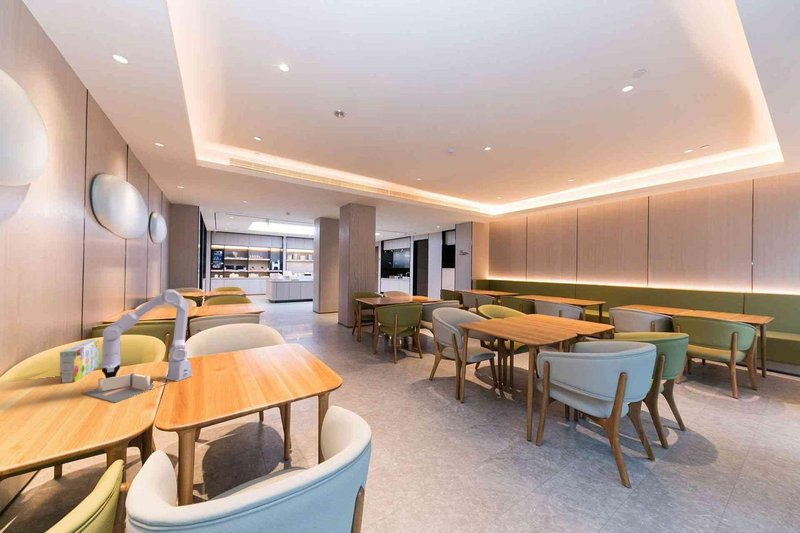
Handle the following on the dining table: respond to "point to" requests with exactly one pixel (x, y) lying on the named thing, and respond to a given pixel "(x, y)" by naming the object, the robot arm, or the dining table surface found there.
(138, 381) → the fixed fence section
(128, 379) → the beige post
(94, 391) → the card
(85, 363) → the snack box
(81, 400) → the dining table surface
